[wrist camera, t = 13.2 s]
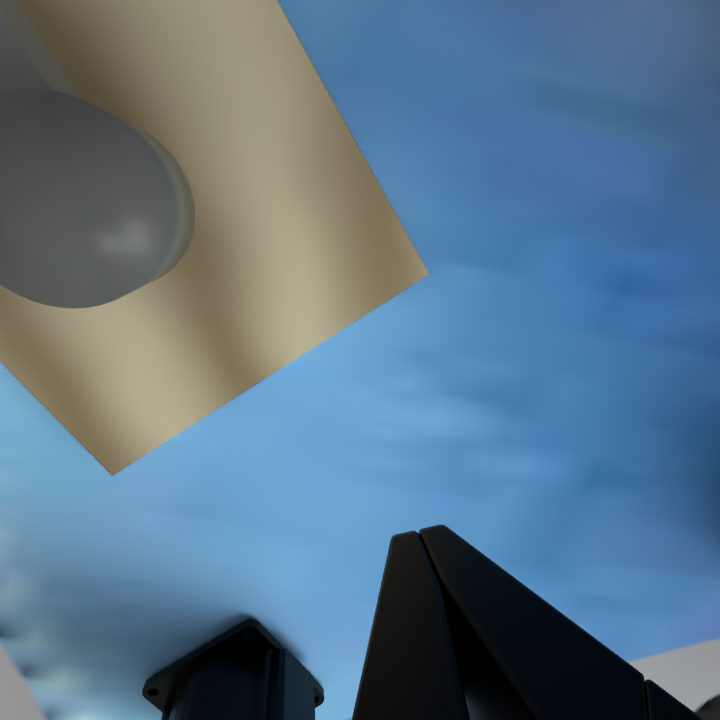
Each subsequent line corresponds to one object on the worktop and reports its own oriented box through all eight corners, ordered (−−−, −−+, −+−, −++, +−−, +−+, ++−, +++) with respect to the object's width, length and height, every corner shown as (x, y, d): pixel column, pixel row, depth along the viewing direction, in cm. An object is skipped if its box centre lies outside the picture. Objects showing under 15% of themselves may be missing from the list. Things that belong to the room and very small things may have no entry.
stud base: (125, 456, 19) (89, 508, 16) (-184, 129, 14) (-326, 106, 11) (419, 269, 18) (446, 282, 15) (188, -141, 14) (153, -253, 10)
